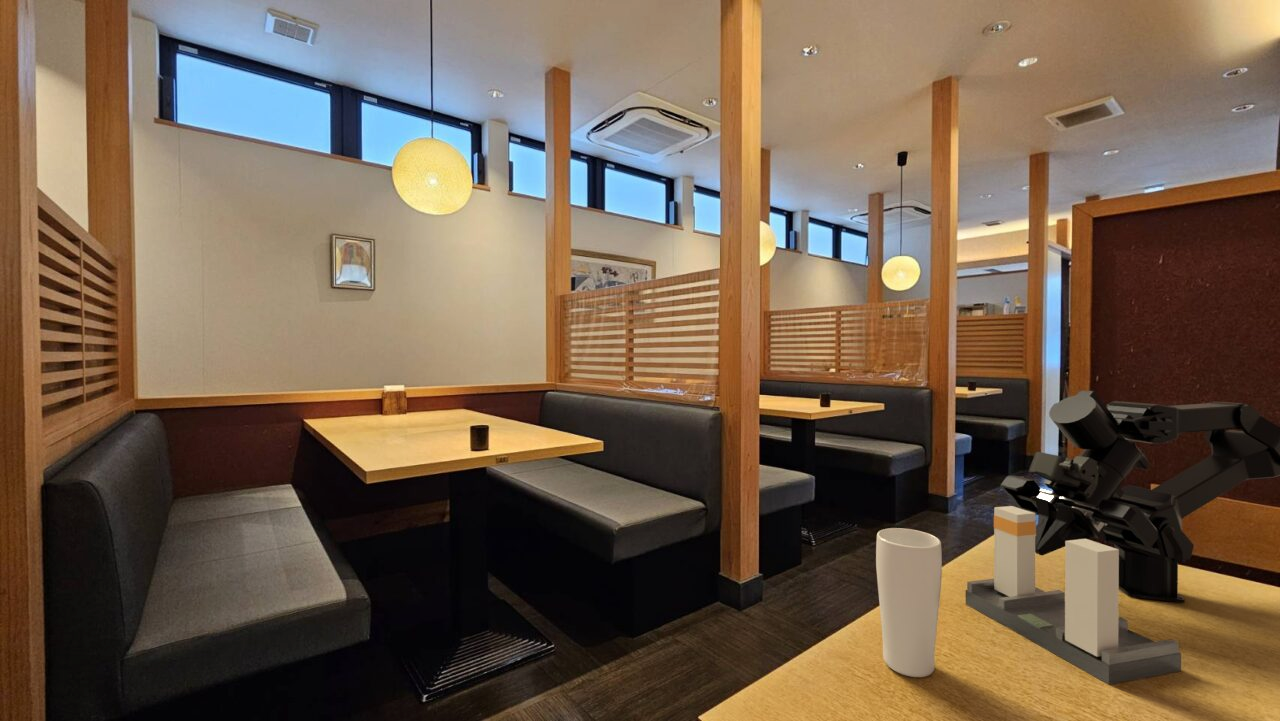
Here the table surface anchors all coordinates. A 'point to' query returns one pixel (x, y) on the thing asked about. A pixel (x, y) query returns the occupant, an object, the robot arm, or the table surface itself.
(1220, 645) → the table surface
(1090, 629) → the on lever
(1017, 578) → the lever
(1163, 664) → the box
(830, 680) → the table surface
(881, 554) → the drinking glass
